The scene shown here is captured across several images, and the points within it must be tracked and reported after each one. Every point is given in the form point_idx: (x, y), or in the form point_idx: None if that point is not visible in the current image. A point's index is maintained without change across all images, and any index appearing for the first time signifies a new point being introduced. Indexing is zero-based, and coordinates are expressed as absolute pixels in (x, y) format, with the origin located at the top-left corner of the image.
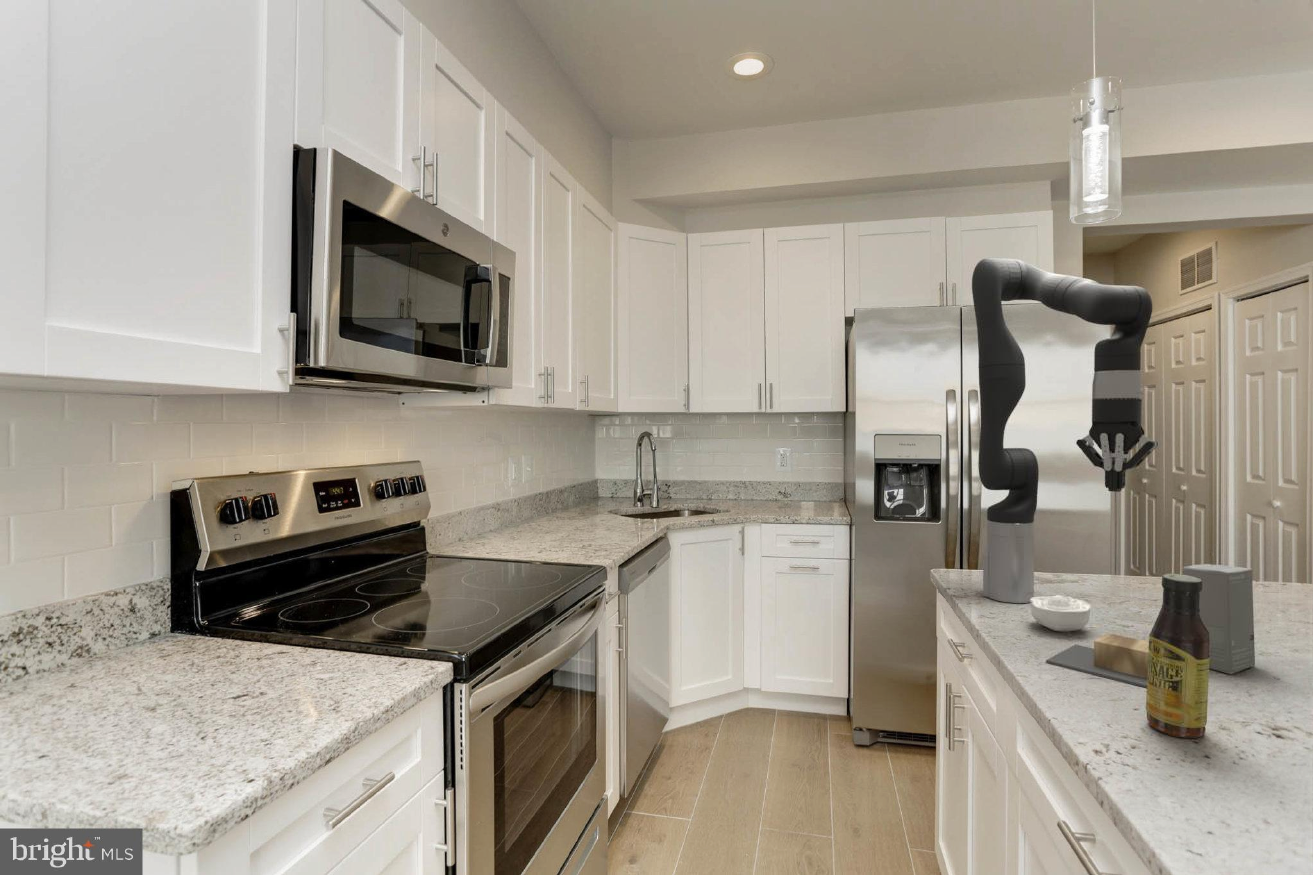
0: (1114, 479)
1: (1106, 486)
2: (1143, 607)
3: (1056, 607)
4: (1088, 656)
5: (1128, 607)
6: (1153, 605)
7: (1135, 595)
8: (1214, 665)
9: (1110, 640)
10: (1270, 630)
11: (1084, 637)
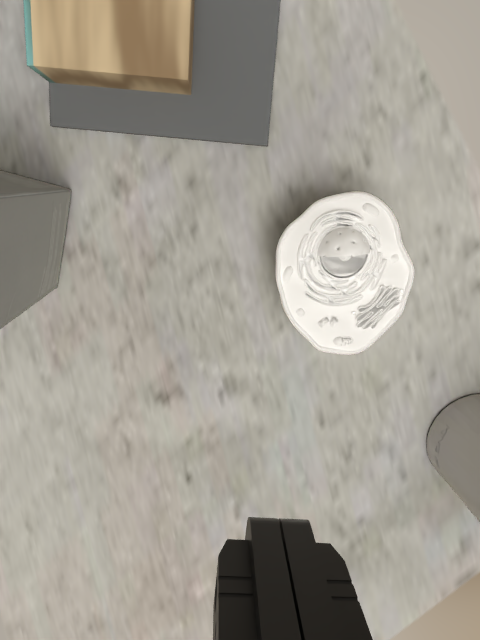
0: (278, 586)
1: (329, 553)
2: None
3: (340, 221)
4: (222, 67)
5: None
6: None
7: None
8: (15, 174)
9: (164, 8)
10: (28, 539)
11: (271, 236)
